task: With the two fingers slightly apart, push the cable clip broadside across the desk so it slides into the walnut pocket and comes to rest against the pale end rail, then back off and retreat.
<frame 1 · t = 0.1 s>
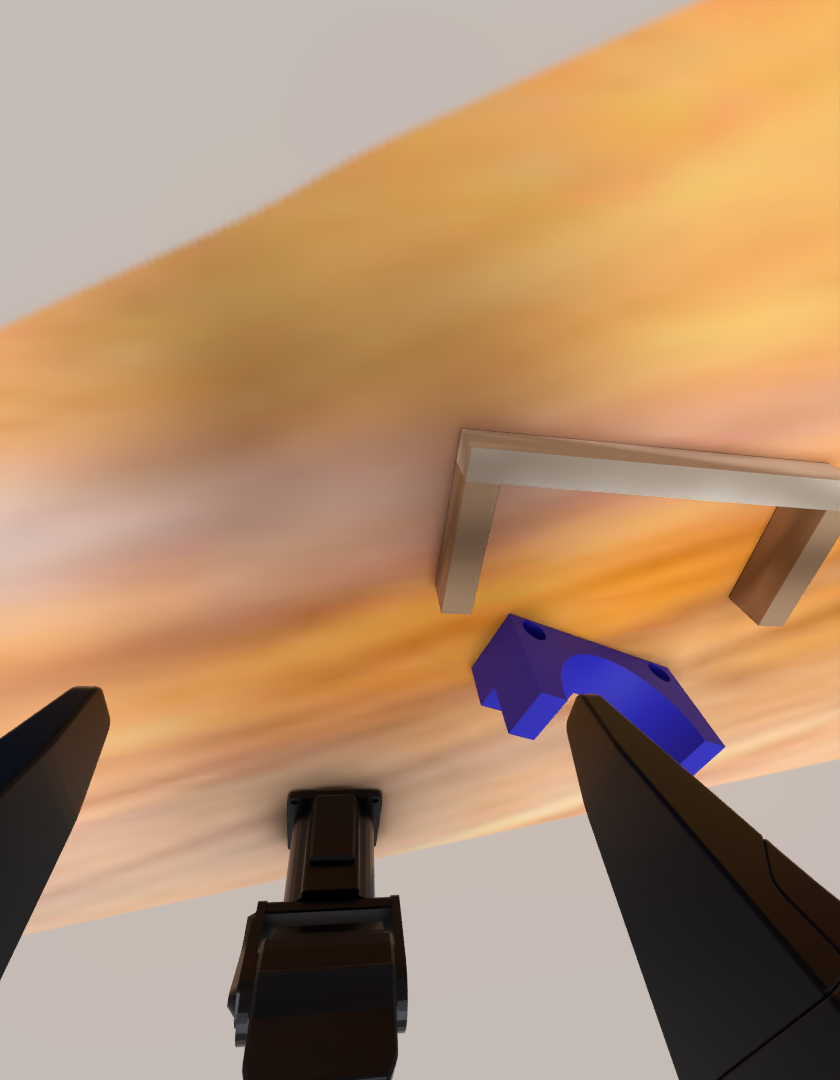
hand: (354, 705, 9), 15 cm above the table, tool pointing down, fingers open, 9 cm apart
cable clip: (570, 663, 31), on the table
slot rails: (621, 537, 26), on the table
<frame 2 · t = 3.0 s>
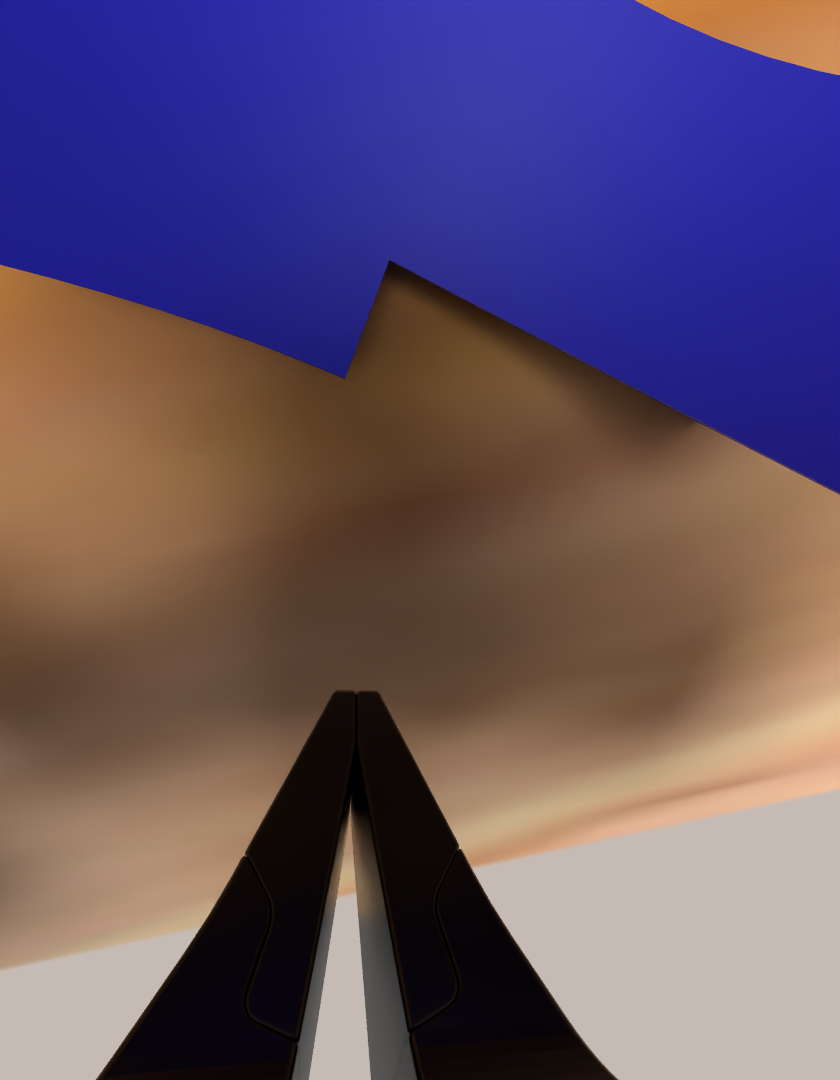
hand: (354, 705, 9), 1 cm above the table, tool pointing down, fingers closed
cable clip: (405, 202, 7), on the table
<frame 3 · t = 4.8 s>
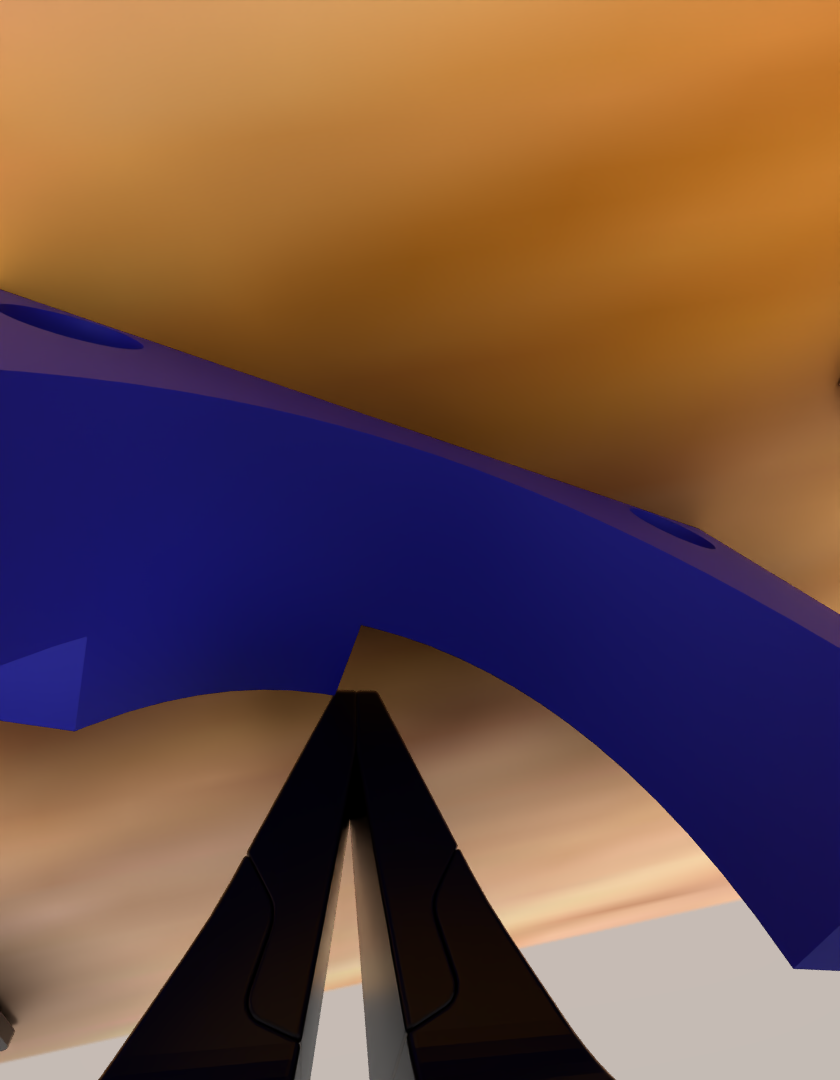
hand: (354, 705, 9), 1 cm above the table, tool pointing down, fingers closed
cable clip: (370, 540, 9), on the table
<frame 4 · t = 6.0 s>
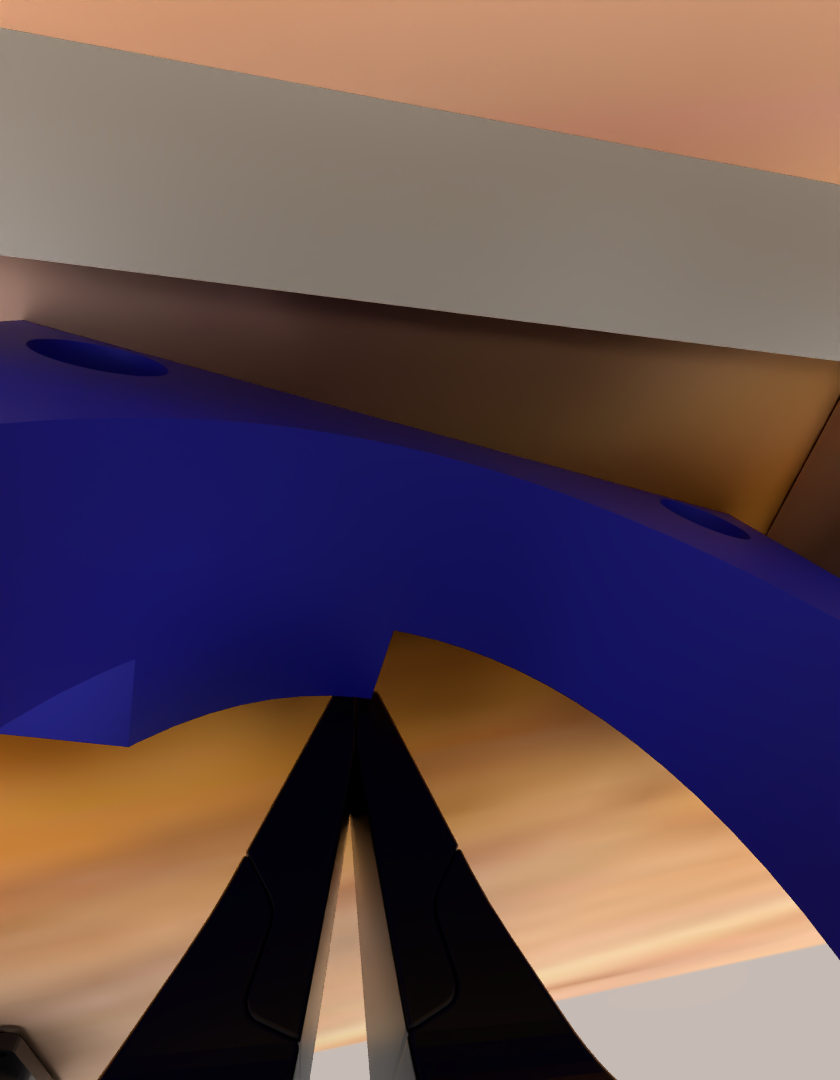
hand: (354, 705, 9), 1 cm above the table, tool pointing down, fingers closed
cable clip: (397, 544, 9), on the table
slot rails: (363, 510, 9), on the table
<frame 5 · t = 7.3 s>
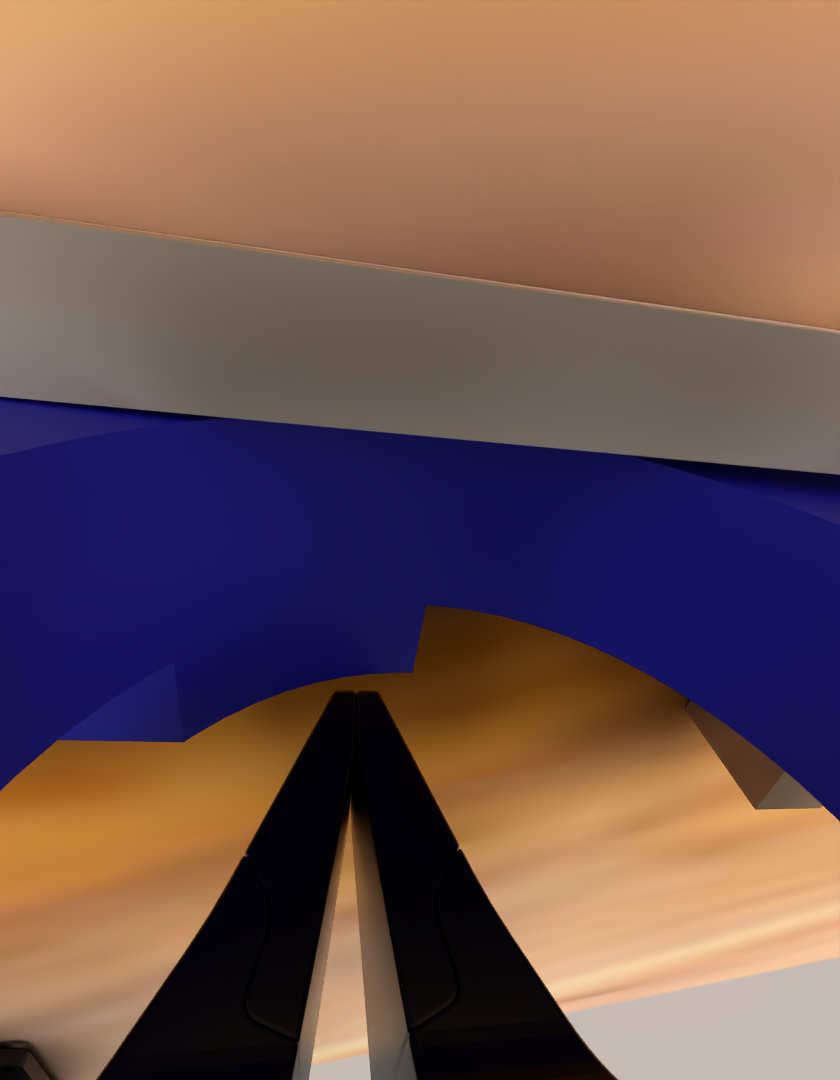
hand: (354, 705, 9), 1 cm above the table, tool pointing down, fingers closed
cable clip: (422, 515, 9), on the table
slot rails: (365, 573, 9), on the table
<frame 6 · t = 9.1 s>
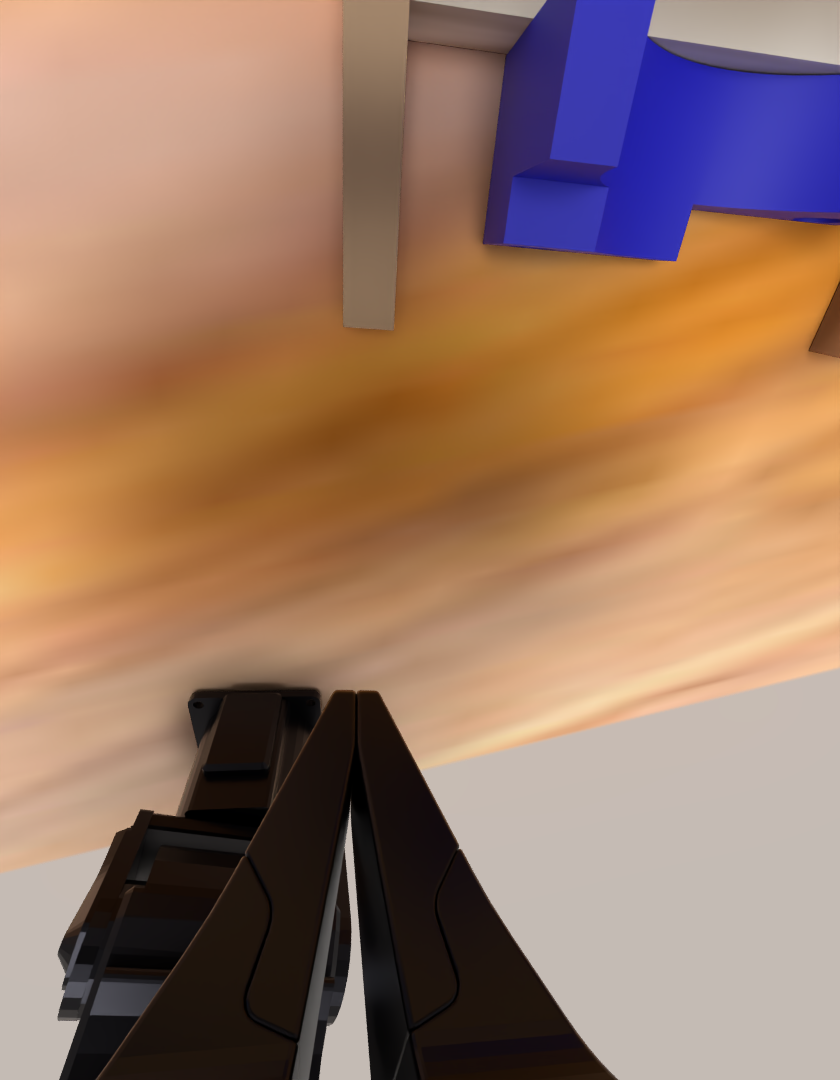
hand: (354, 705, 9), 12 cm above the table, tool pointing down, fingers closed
cable clip: (671, 180, 16), on the table
slot rails: (640, 221, 16), on the table
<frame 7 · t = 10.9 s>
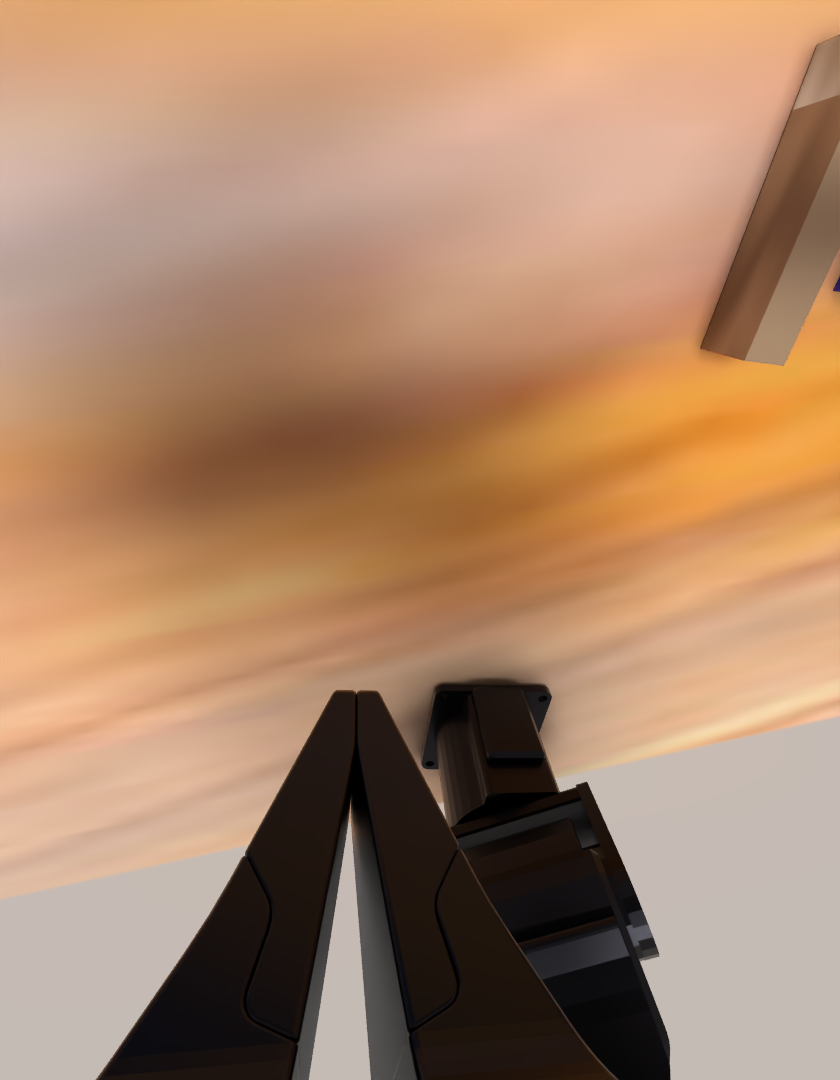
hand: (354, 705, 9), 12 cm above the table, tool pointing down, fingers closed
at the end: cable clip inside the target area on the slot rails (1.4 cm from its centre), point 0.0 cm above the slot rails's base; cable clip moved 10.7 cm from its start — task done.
